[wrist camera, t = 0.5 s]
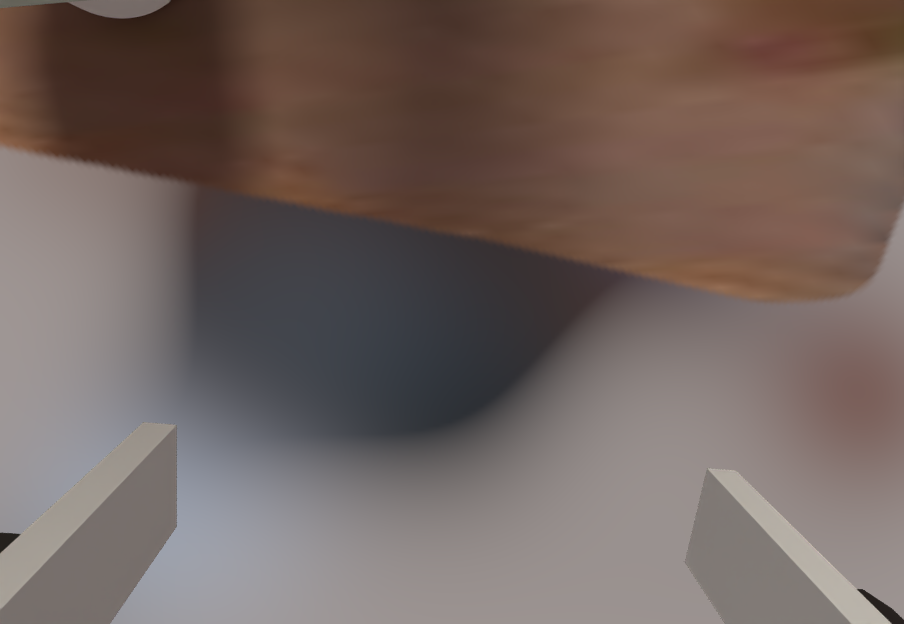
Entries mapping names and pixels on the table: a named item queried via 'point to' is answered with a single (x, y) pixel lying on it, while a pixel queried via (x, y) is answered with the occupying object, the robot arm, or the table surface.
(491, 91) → the table surface
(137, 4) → the cup
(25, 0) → the lid
